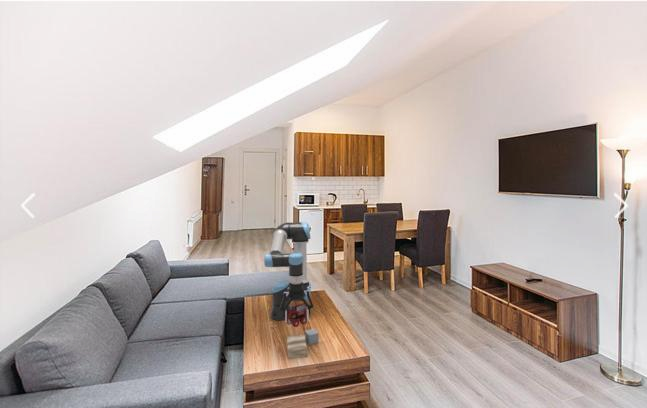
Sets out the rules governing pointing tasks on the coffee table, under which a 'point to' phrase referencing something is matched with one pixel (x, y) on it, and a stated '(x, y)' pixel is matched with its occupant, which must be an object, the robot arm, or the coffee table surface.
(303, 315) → the toy fire truck
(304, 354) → the maple block
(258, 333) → the coffee table surface
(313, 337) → the slate cube
